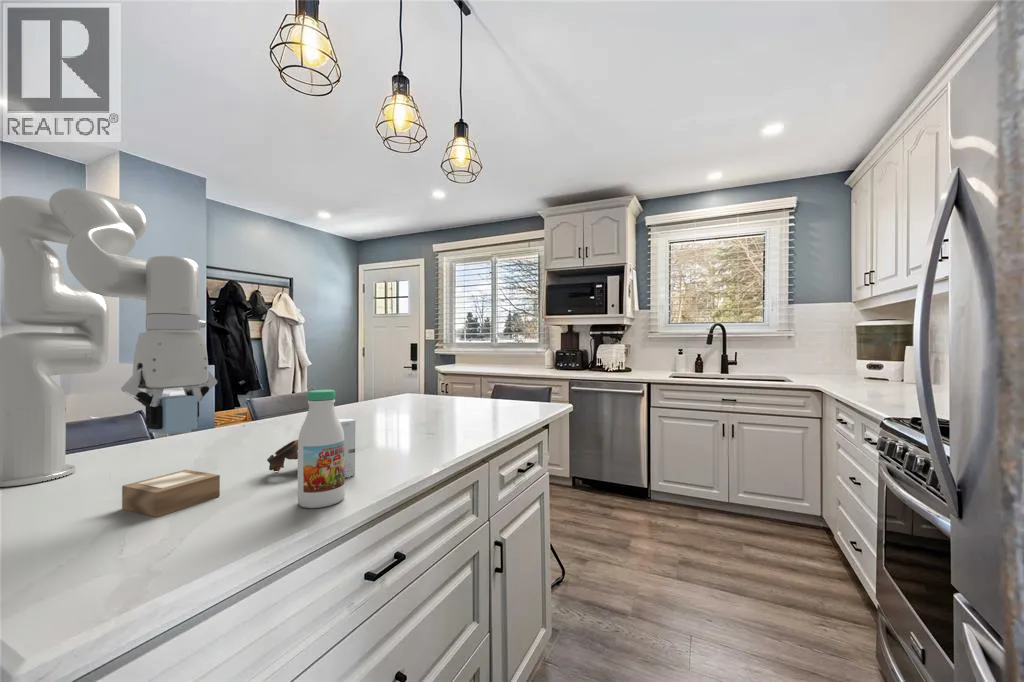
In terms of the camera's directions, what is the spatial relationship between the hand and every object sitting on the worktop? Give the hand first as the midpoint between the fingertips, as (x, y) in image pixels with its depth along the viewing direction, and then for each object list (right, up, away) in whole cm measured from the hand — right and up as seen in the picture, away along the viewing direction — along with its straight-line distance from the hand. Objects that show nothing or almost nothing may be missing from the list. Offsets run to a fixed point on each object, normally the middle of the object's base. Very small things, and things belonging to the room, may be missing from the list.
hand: (173, 424), depth 74 cm
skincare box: (+24, -14, +14) cm, 31 cm away
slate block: (0, -1, 0) cm, 1 cm away
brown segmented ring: (+13, -15, +18) cm, 27 cm away
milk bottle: (+27, -14, 0) cm, 30 cm away
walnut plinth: (0, -14, 0) cm, 14 cm away
